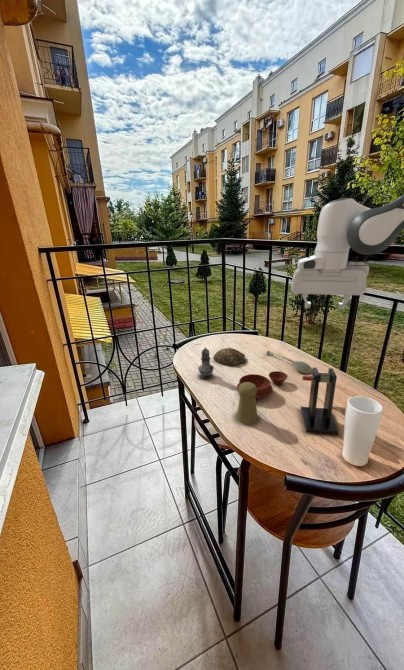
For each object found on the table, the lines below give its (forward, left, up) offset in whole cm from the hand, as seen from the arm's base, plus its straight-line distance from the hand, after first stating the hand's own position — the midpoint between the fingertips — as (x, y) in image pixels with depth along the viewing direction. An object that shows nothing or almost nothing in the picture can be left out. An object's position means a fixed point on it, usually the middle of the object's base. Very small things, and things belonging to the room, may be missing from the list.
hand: (323, 308), depth 85 cm
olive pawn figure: (+29, +4, -28) cm, 40 cm away
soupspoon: (-4, -20, -28) cm, 35 cm away
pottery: (+16, -7, -28) cm, 33 cm away
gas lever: (+9, +10, -18) cm, 22 cm away
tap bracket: (+12, +14, -28) cm, 33 cm away
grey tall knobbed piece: (+30, -24, -28) cm, 47 cm away
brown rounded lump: (+15, -33, -28) cm, 46 cm away
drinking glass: (+14, +28, -28) cm, 42 cm away
